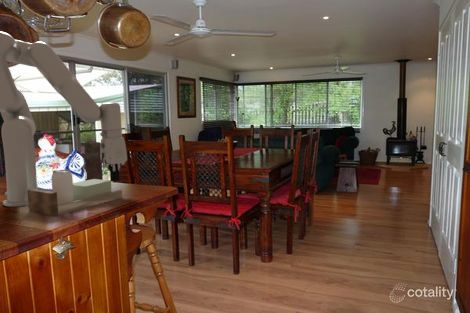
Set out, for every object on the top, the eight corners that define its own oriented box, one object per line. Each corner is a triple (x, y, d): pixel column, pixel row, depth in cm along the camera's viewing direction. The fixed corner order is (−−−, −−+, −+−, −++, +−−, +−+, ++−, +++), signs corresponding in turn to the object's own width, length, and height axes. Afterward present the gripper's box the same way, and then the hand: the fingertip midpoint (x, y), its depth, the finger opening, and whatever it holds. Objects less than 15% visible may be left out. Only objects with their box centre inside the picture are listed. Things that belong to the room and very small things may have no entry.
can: (66, 208, 123) (64, 172, 122) (49, 207, 124) (46, 172, 123) (77, 203, 130) (76, 169, 128) (61, 202, 131) (59, 169, 129)
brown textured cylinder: (90, 183, 172) (88, 140, 170) (105, 183, 172) (103, 140, 170) (83, 186, 165) (80, 141, 162) (99, 186, 164) (97, 141, 162)
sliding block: (68, 199, 134) (67, 184, 133) (94, 193, 144) (94, 178, 144) (85, 202, 130) (84, 186, 129) (111, 195, 140) (111, 180, 139)
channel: (28, 212, 122) (27, 189, 121) (100, 194, 149) (99, 176, 148) (52, 216, 117) (51, 193, 116) (122, 197, 143) (121, 178, 142)
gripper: (103, 136, 136) (107, 185, 138) (132, 133, 149) (135, 178, 151) (89, 135, 140) (93, 183, 142) (119, 133, 153) (121, 176, 155)
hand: (115, 180), depth 147 cm, fingers closed
